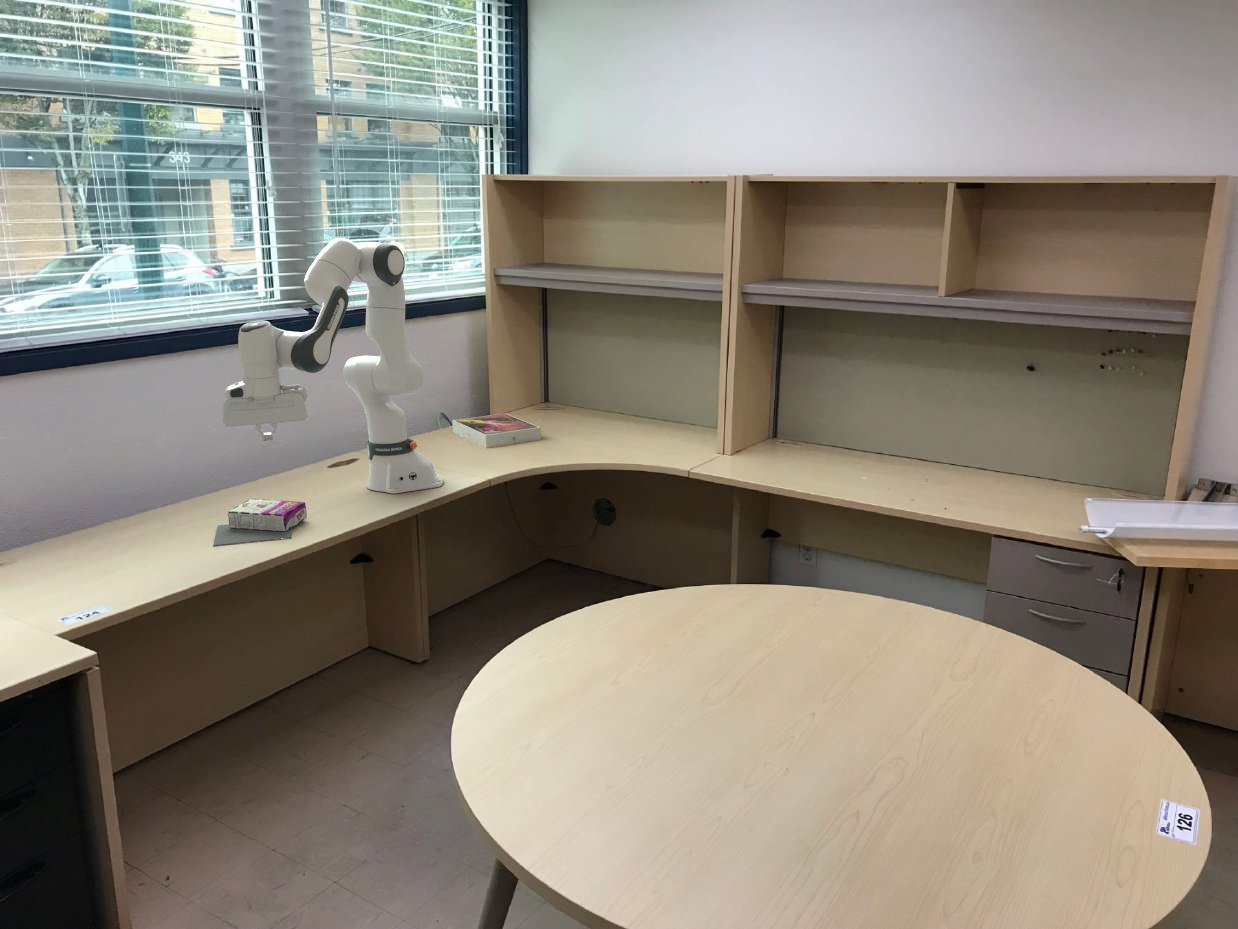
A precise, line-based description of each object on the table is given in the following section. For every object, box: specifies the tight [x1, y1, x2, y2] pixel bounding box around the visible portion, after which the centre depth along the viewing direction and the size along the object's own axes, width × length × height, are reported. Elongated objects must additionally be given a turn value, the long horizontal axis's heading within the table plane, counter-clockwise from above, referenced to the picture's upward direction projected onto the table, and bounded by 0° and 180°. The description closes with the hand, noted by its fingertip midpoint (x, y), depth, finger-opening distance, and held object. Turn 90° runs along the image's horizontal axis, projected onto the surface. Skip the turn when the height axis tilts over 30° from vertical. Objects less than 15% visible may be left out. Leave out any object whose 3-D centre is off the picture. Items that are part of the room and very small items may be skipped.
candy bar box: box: [227, 498, 308, 532], centre depth 257 cm, size 11×5×16 cm
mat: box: [212, 523, 292, 547], centre depth 252 cm, size 18×16×1 cm
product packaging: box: [451, 412, 542, 449], centre depth 352 cm, size 22×28×5 cm
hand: (268, 440), depth 247 cm, fingers closed
